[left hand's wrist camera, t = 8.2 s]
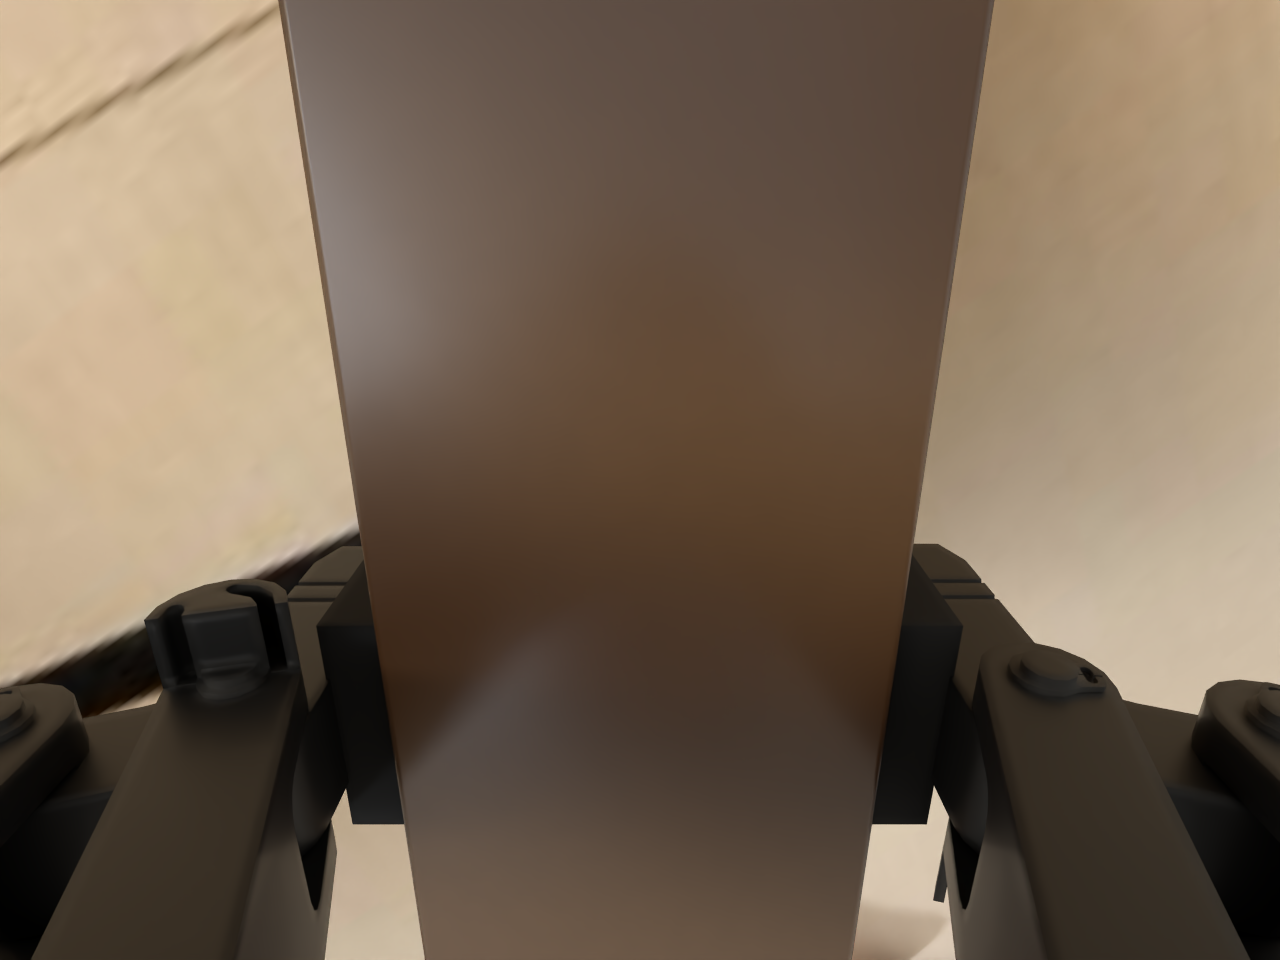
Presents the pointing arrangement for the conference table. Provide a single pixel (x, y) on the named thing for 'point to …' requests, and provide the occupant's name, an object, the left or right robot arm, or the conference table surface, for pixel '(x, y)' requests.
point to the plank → (637, 439)
